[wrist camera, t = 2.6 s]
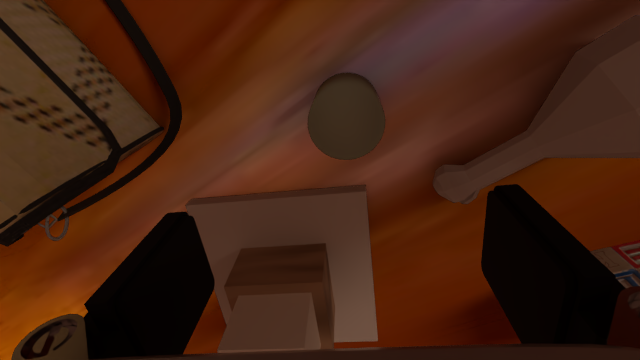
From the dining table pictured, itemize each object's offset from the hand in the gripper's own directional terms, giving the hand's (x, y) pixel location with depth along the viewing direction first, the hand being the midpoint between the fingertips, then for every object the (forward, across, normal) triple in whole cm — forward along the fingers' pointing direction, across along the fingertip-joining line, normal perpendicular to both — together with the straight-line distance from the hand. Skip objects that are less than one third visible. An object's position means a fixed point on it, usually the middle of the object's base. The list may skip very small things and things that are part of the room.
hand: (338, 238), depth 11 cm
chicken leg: (+18, -15, +2) cm, 23 cm away
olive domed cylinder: (+17, 0, 0) cm, 17 cm away
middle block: (+11, +7, +16) cm, 20 cm away
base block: (+16, +7, +16) cm, 24 cm away
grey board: (+17, +7, +16) cm, 24 cm away
